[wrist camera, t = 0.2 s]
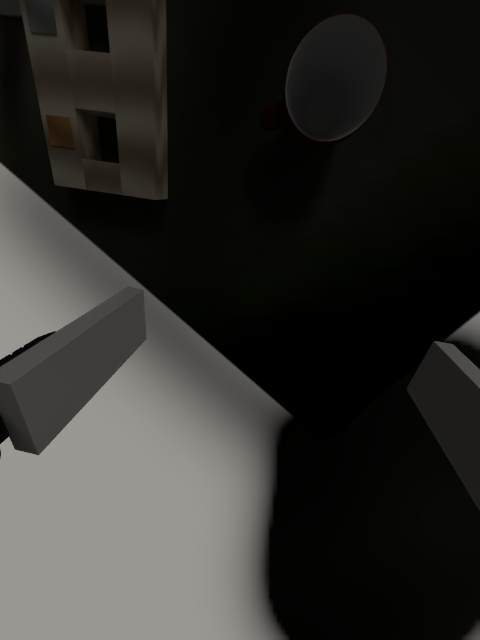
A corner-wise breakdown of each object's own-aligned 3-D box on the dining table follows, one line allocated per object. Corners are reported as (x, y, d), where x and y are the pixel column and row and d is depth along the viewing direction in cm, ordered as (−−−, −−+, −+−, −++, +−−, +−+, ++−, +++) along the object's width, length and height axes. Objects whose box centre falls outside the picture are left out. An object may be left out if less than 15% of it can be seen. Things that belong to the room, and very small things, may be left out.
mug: (275, 174, 33) (271, 169, 24) (255, 100, 30) (242, 64, 21) (362, 138, 30) (394, 117, 21) (350, 51, 27) (381, -15, 18)
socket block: (39, -47, 27) (0, -84, 24) (165, -39, 26) (145, -76, 22) (76, 185, 38) (53, 184, 34) (167, 198, 36) (154, 199, 33)
